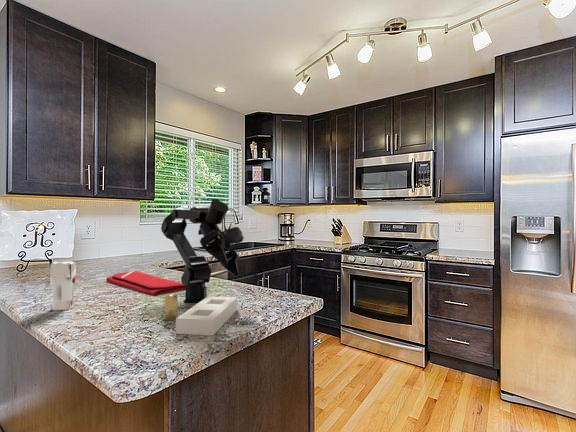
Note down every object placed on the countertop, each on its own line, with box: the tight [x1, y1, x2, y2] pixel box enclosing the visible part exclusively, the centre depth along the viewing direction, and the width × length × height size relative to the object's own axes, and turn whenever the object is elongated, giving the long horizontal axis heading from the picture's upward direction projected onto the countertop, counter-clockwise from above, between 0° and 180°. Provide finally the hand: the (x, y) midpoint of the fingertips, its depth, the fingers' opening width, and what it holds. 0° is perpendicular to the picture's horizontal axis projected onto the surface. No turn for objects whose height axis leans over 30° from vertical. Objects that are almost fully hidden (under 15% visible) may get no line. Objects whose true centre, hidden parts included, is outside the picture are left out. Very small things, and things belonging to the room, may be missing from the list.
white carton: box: [49, 260, 77, 312], centre depth 103 cm, size 7×7×15 cm
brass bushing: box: [164, 293, 179, 322], centre depth 94 cm, size 4×4×7 cm
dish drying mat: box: [106, 270, 186, 297], centre depth 138 cm, size 16×41×4 cm, turn 53°
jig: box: [175, 296, 238, 337], centre depth 92 cm, size 10×22×4 cm, turn 173°
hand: (232, 270), depth 96 cm, fingers open, 9 cm apart
